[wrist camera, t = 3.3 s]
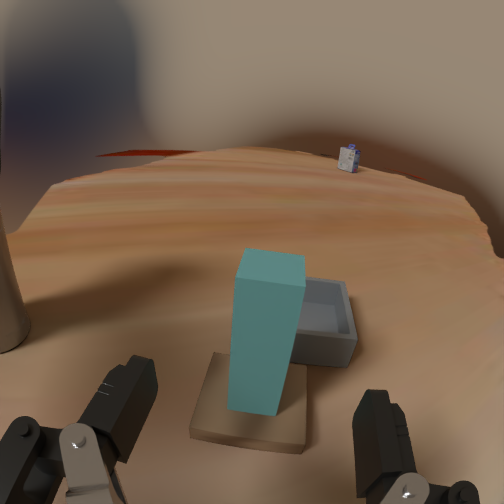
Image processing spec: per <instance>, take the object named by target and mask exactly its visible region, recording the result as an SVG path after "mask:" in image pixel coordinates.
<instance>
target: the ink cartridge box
mask: <svg viewBox="0 0 504 504" xmlns="http://www.w3.org/2000/svg"><path fill="white" fill-rule="evenodd" d="M350 146H354V147H350ZM354 148H355V145H352V144H350V145H349V147H348V148H346V147H341V150H340V156H339V162H338V169H342V170H345V171H348V172H351V173H357V169H358V163H359V156H360V151H359V150H355V149H354Z"/></svg>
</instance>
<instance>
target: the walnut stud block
mask: <svg viewBox="0 0 504 504" xmlns="http://www.w3.org/2000/svg"><path fill="white" fill-rule="evenodd" d="M229 367H230V355H227V354H221V353H216V352H214V353H213V356H212V359H211V362H210V365H209V368H208V371H207V374H206V377H205V380H204V383H203V386H202V389H201V392H200V395H199V398H198V401H197V404H196V408H195V411H194V414H193V417H192V420H191V423H190V426H189V430H190V438H193V439H198V440H203V441H207V442H212V443H218V444H223V445H229V446H235V447H241V448H247V449H254V450H262V451H270V452H280V453H290V454H301V453H302V451H303V449H304V447H305V444H306V404H307V365H299V364H290V363H289V365H288V369H287V374H286V378H285V382H284V386H283V390H282V394H281V398H280V402H279V405H278V409H277V413H276V416H269V415H261V414H254V413H247V412H241V411H235V410H229V409H227V402H228V384H229Z"/></svg>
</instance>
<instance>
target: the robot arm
mask: <svg viewBox="0 0 504 504" xmlns="http://www.w3.org/2000/svg"><path fill="white" fill-rule="evenodd" d="M0 132H1V91H0ZM0 135H1V133H0ZM0 152H1V151H0ZM0 172H1V153H0ZM29 329H30V321H29V318H28V315H27V312H26V309H25V306H24V303H23V300H22V296H21V293H20V290H19V286H18V283H17V279H16V276H15V272H14V268H13V264H12V261H11V256H10V252H9V248H8V244H7V239H6V234H5V229H4V225H3V219H2V213H1V207H0V353H2V352H5V351H8V350H10V349H12V348H14V347H16V346H17V345H19V344H20V343H21V342H22V341H23V340H24V339H25V337H26V336H27V334H28V332H29ZM157 391H158V383H157V378H156V372H155V367H154V362H153V360H152V359H148V358H144V357H141V356H137V355H133V356H132V357H131V358H130V360H129V361H128V363H127V365H126V366H123V365H120V364H119V365H118V366H116V367H115V368H114V369H112V370H111V371H110V372H109V373H108V374H107V376H106V377H105V379H104V380H103V383H102V384H101V385H100V387H99V388H98V391H97V392H96V393H95V395H94V396H93V398H92V400H91V401H90V403H89V404H88V406H87V408H86V409H85V411H84V413H83V414H82V416H81V418H80V419H79V420H78V422H77V423H74V424H70V425H68V426H67V427H65V428H64V429H56V428H49V427H42V426H39V424H38V423H37V421H36V420H35V419H33V418H31V417H28V416H21V417H18V418H16V419H15V420H14V421H13V422H12V423H11V424H10V426H9V428H8V429H7V431H6V432H5V434H4V436H3V437H2V439H1V441H0V504H52V503H53V500H54V498H55V495H56V493H57V491H58V488H59V486H60V484H61V482H62V479H63V477H66V479H67V483H68V488H69V490H68V491H67V492H66V501H67V504H128V502H127V499H126V496H125V494H124V491H123V488H122V486H121V483H120V480H119V477H118V474H117V471H116V469H115V464H116V462H117V461H120V462H123V463H125V464H126V463H127V461H128V459H129V456H130V454H131V452H132V450H133V447H134V445H135V443H136V441H137V438H138V436H139V434H140V432H141V430H142V427H143V425H144V423H145V421H146V419H147V416H148V414H149V412H150V410H151V408H152V405H153V403H154V401H155V399H156V396H157ZM352 429H353V441H354V455H355V470H356V490H357V498H366V504H480V500H479V494H478V490H477V488H476V487H475V485H474V484H472V483H471V482H469V481H459V482H457V483H455V484H454V485H452V486H451V487H447V486H440V485H434V484H430V483H428V482H427V480H426V479H425V478H424V477H423V476H421V475H420V474H418V473H417V471H416V467H415V462H414V456H413V451H412V446H411V441H410V437H409V432H408V427H407V423H406V419H405V414H404V413H403V411H402V410H401V408H400V407H399V405H398V404H397V403H390V399H389V394H388V392H387V390H371V389H368V390H366V392H365V394H364V396H363V398H362V399H361V401H360V403H359V405H358V407H357V409H356V411H355V413H354V416H353V422H352Z"/></svg>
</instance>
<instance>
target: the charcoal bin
mask: <svg viewBox="0 0 504 504" xmlns="http://www.w3.org/2000/svg"><path fill="white" fill-rule="evenodd" d="M305 282H306V288H305V293H304V298H303V302H302V307H301V312H300V317H299V321H298V326H297V330H296V335H295V339H294V344H293V348H292V352H291V357H290V361H289V362H292V363H301V364H310V365H320V366H331V367H344V368H347V367H348V364H349V362H350V359H351V357H352V354H353V351H354V349H355V346H356V343H357V341H358V338H357V333H356V328H355V323H354V319H353V314H352V310H351V306H350V301H349V297H348V293H347V289H346V285H345V282H344V281H336V280H328V279H320V278H312V277H305Z"/></svg>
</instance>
